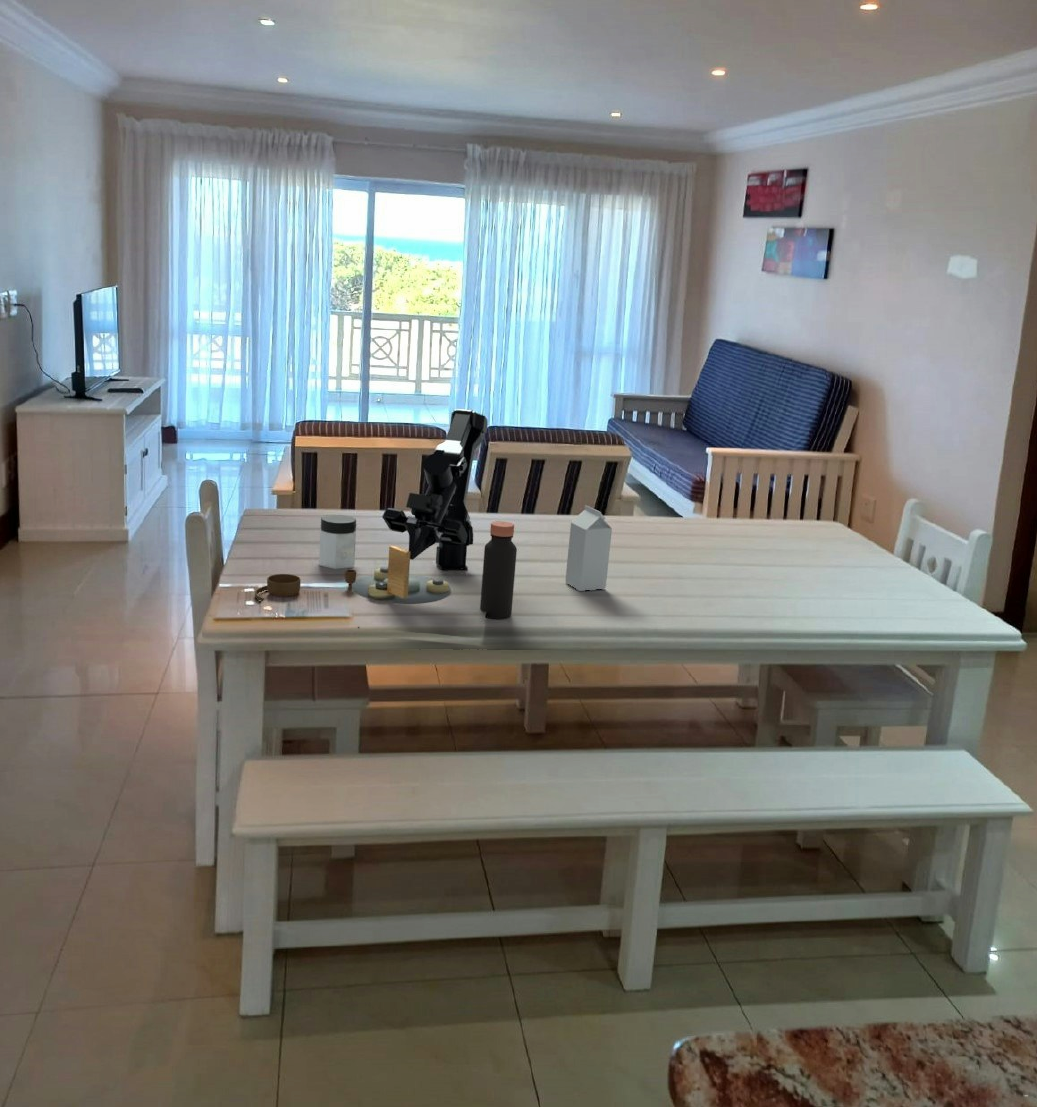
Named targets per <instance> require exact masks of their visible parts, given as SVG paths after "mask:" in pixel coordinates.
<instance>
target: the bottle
mask: <svg viewBox="0 0 1037 1107" xmlns="http://www.w3.org/2000/svg"><path fill="white" fill-rule="evenodd" d="M489 533H490V537H491V538H490V540H489V541H488V542H487V543H486V544H485V545H484V550H483V566H482V578H481V579H482V580H481V592H480V604H479V606H480V607H479V609H480V611H482V612H484V613H485V618H487V619H492V620H504V618H505V619H508V618H510V617H511V615H512V613H513V601H514V600H513V599H514V587H515V578H516V577H515V576H516V575H515V574H516V562H517V553H518V552H517V550H518V548H517V546H516V545H515V544H514V542H513V540H512V539H513V538H514V533H515V524H514V523H512V522H510V521H502V520H497V521H496V520H495V521H492V522H491V523H490V532H489Z"/></svg>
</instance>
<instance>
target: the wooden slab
mask: <svg viewBox="0 0 1037 1107" xmlns="http://www.w3.org/2000/svg"><path fill="white" fill-rule="evenodd" d="M388 548H389V549H388V563H387V565H388V581H387V582H376V584H373V585H370V586H368V594H367V595H368V596H369V597H371V598H374V599H381V600H385V599H392V598H394V597H395V596H398V597H401V598H403V599H404V598H408V585H409V574H410V566H411V564H410V563H411V559H410V552H409V550H407V549H404V548H401V547H398V546H395V545H389V547H388Z"/></svg>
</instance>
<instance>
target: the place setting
mask: <svg viewBox="0 0 1037 1107" xmlns="http://www.w3.org/2000/svg"><path fill="white" fill-rule="evenodd" d="M344 580H345V583H347V584H348V585H347V586H348V587H347V590H349V591H353V590H352V583H354V582H355V581H356V580H357V570H356V569H349V568H347V569H345V570H344ZM266 581H267V582H266V585H264V586H261V587H258V588H257V589H255V591H254V596H255V599H256V598H257V599H258V600H261V601H262V602H263V601H264V600H265V599H266V598H264V597H262V596H261V595H259V596H258V595H257V594H258V593H259V592H262V591H264V590H268V594H269V595H271V596H275V597H279V598H280V597H281V598H282V597H283V598H287V597H288V598H289V597H293V596H297V595H298V594H299V593H300V591H301V578H300V576H297V575H294V574H289V573H279V574H278V573H277V574H272V575H269V576H268V577H267V578H266ZM257 599H256V600H257ZM258 600H257V601H258Z"/></svg>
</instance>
